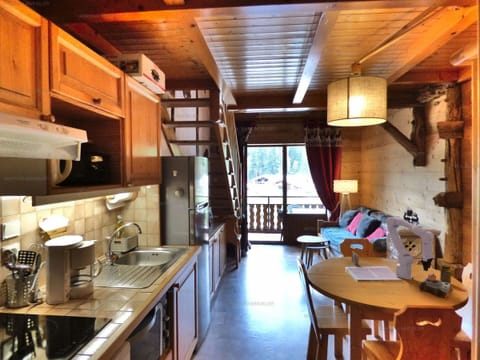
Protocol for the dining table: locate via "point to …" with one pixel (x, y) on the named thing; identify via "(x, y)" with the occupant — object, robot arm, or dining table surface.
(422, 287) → the bolt
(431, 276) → the orange short cylinder
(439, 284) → the button control panel
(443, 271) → the yellow metal cylinder
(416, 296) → the dining table surface
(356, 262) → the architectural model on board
